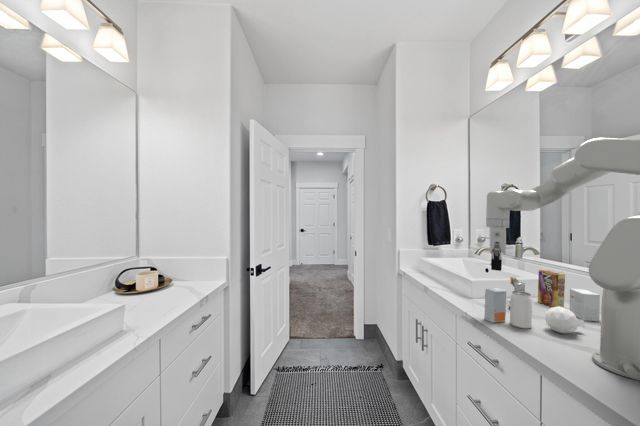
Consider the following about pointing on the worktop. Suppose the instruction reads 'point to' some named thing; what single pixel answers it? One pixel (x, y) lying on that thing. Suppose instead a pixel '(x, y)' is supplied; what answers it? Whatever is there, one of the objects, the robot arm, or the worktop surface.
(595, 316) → the small box
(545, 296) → the candy box
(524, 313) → the can
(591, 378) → the worktop surface
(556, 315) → the white egg-shaped lump
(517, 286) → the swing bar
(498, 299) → the skincare box
